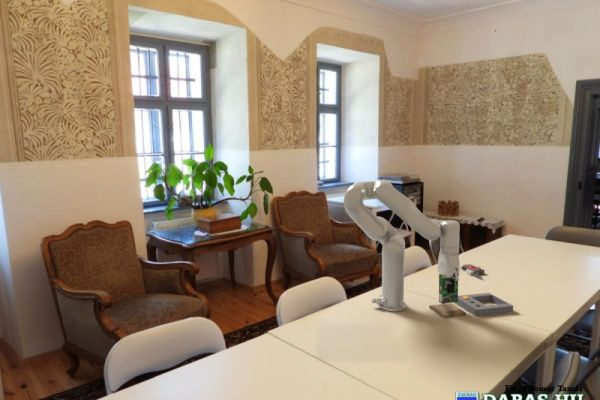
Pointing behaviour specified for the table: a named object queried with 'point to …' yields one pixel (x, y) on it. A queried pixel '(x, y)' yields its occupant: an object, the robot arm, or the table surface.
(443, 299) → the coffee box
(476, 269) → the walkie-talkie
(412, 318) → the table surface
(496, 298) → the toy stove front
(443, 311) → the walnut pad
